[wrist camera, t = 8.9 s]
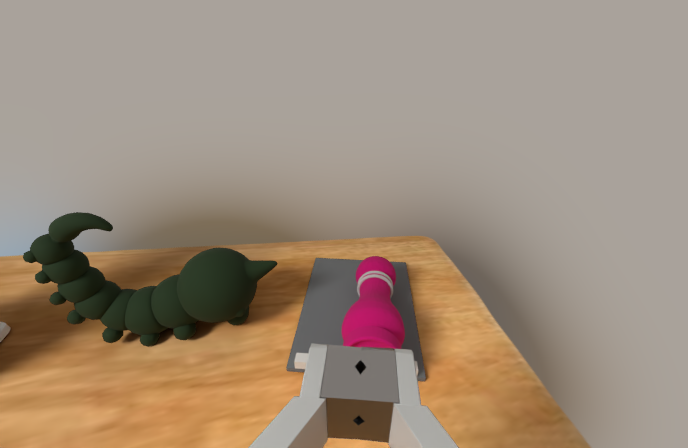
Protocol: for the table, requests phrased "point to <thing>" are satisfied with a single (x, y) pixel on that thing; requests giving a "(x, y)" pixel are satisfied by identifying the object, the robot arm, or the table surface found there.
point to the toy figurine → (149, 302)
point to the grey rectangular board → (347, 308)
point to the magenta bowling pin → (374, 308)
